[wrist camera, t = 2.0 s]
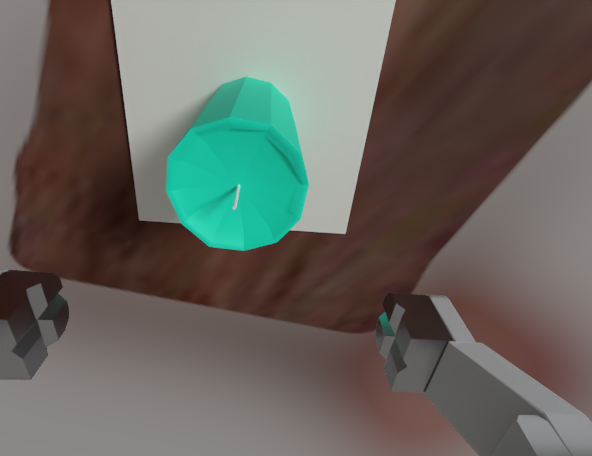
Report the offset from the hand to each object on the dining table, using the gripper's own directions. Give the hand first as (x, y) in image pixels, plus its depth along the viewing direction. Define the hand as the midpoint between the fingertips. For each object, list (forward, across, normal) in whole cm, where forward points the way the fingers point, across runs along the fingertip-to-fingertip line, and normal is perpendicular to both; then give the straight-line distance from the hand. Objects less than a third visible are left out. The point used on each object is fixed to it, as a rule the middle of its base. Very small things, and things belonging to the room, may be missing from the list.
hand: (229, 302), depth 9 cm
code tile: (+17, +1, 0) cm, 17 cm away
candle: (+17, +1, 0) cm, 17 cm away
